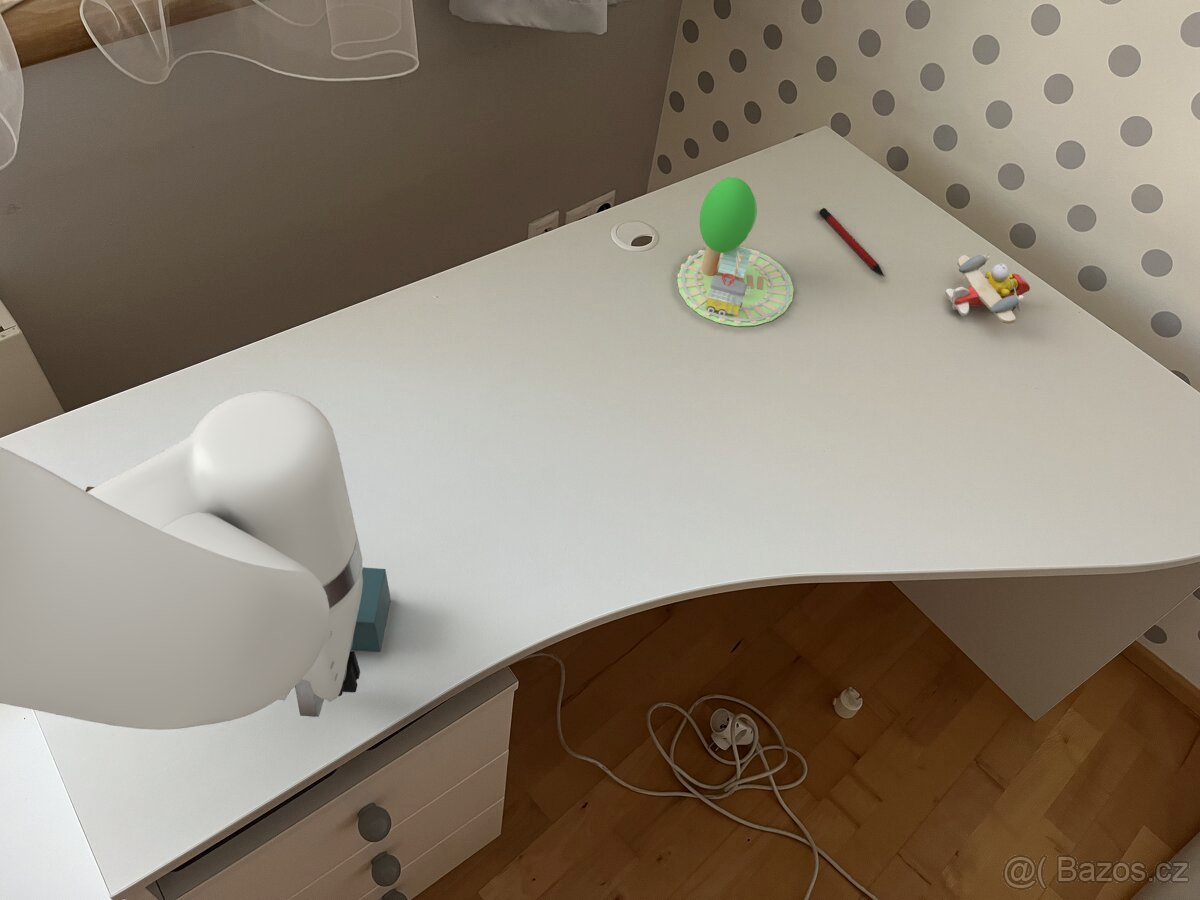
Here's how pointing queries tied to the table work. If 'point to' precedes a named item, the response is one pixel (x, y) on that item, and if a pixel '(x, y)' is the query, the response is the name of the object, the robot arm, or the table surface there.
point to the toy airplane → (988, 289)
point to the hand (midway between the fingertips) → (338, 681)
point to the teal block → (372, 611)
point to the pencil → (851, 241)
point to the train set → (733, 264)
